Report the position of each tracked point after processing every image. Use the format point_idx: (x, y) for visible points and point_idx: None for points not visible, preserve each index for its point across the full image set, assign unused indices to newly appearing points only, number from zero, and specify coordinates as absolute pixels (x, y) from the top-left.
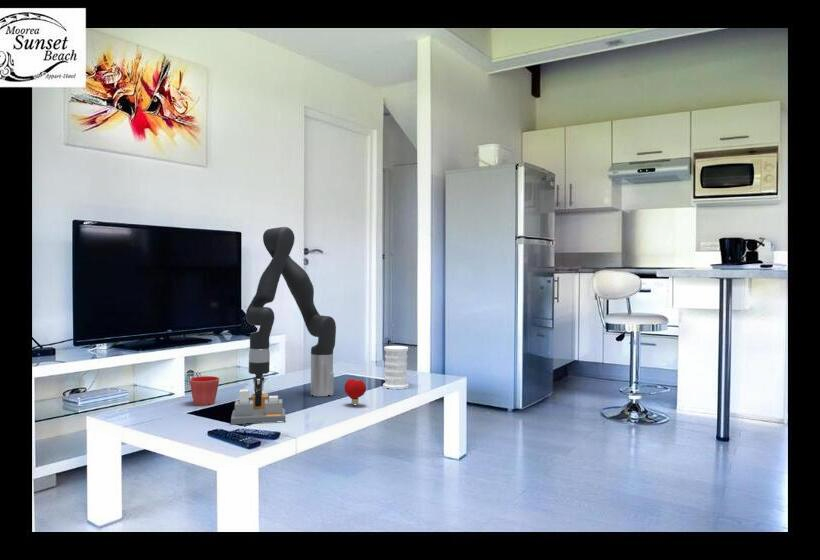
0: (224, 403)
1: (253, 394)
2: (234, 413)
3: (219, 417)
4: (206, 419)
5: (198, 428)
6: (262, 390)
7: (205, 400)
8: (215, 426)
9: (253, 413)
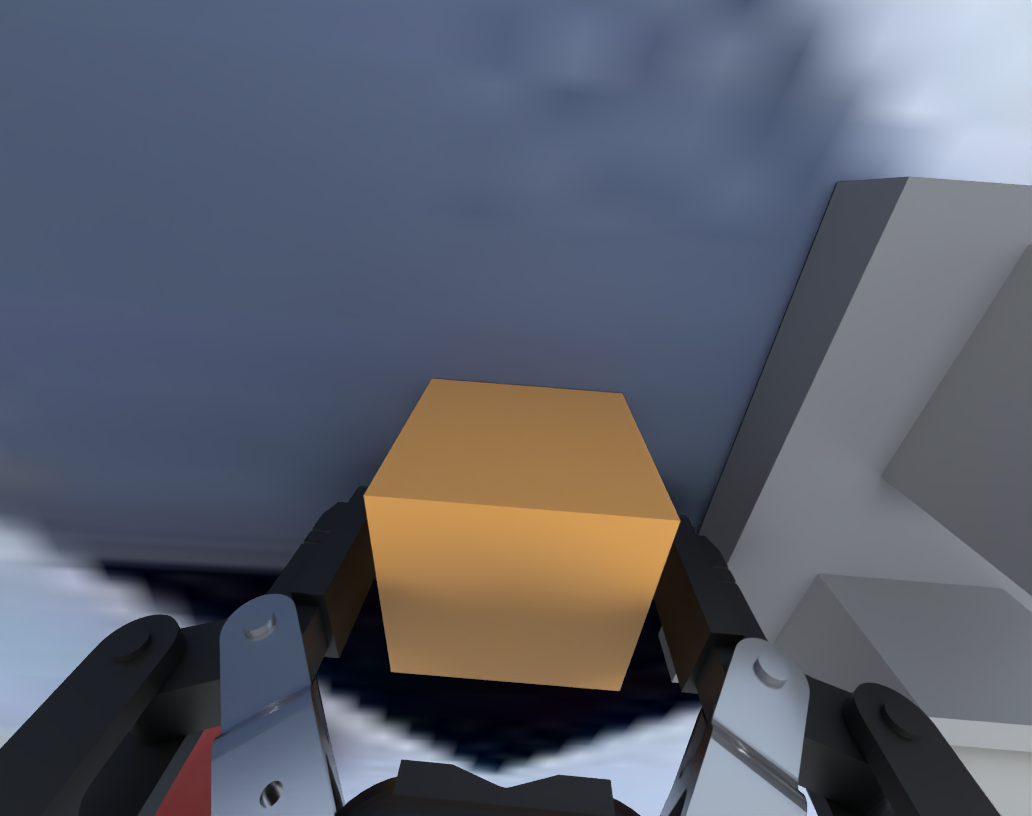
0: None
1: (426, 657)
2: None
3: (664, 689)
4: (682, 731)
5: None
6: (715, 728)
7: None
8: None
9: (918, 577)
